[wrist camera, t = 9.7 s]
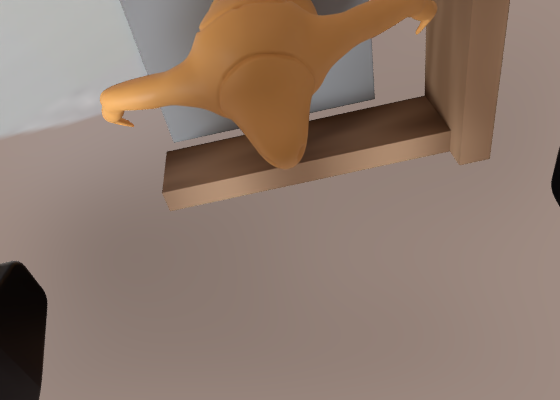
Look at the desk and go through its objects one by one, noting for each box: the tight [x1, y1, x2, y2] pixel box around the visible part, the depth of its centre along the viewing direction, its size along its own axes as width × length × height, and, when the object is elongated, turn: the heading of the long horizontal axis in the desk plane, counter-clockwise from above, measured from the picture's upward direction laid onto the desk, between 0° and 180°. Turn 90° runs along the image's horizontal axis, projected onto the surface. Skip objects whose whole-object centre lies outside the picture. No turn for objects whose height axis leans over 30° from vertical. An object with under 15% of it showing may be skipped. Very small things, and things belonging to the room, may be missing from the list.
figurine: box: [100, 0, 437, 169], centre depth 13 cm, size 8×6×12 cm
